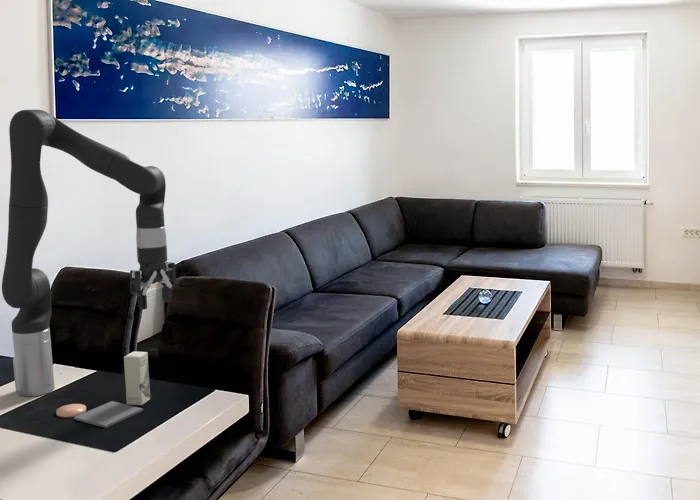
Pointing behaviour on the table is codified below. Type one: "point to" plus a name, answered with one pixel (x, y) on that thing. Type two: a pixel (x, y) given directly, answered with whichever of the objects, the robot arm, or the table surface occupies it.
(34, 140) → the robot arm
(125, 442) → the table surface
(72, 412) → the glossy peach dome
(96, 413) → the mat
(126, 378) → the box
